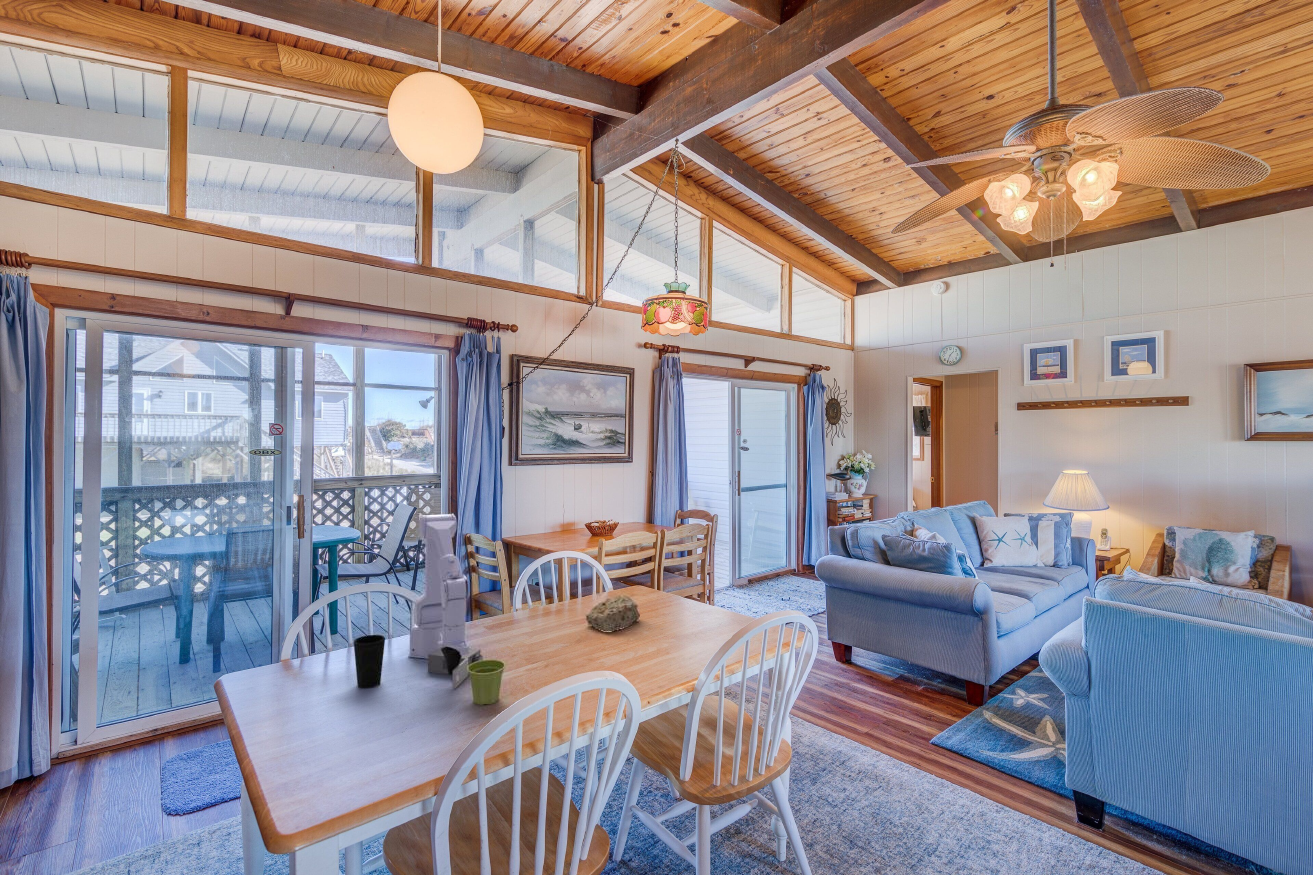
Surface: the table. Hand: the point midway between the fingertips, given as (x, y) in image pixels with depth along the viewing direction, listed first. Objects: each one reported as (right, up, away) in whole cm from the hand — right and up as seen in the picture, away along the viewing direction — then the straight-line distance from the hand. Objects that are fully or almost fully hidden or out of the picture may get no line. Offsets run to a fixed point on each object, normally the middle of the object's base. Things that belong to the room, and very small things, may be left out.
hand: (453, 673), depth 167 cm
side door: (+2, -3, +1) cm, 3 cm away
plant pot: (+11, -4, -9) cm, 15 cm away
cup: (-22, -3, 0) cm, 23 cm away
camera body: (-3, -3, +11) cm, 12 cm away
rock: (+39, -4, +56) cm, 68 cm away
